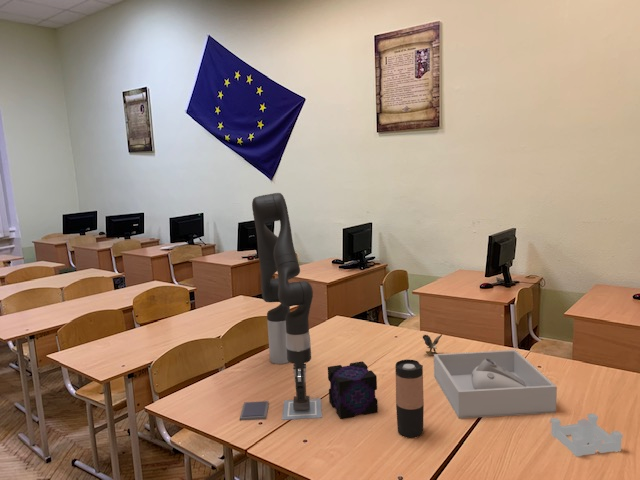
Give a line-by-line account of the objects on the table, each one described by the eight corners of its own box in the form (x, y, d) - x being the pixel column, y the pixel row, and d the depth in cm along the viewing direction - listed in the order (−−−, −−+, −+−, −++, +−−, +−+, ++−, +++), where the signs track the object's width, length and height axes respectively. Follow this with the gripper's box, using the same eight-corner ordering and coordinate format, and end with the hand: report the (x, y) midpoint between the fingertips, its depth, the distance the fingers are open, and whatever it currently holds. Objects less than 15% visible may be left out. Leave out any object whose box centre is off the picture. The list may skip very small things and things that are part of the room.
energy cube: (340, 419, 147) (339, 382, 145) (329, 401, 159) (327, 366, 157) (377, 412, 150) (376, 375, 149) (363, 395, 162) (362, 361, 160)
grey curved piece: (503, 409, 148) (503, 375, 146) (458, 389, 161) (458, 358, 160) (534, 392, 157) (535, 360, 155) (489, 375, 170) (489, 346, 169)
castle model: (593, 428, 137) (594, 403, 135) (634, 460, 122) (636, 432, 121) (543, 435, 135) (544, 409, 134) (579, 467, 120) (580, 439, 119)
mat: (284, 401, 160) (284, 400, 160) (320, 399, 160) (320, 398, 160) (282, 420, 148) (282, 418, 148) (321, 418, 148) (321, 416, 148)
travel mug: (393, 435, 137) (391, 367, 134) (401, 422, 144) (400, 357, 141) (419, 441, 134) (418, 372, 131) (427, 427, 140) (426, 361, 137)
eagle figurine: (430, 359, 189) (429, 336, 187) (418, 353, 195) (418, 331, 194) (445, 355, 192) (445, 333, 190) (434, 349, 198) (434, 328, 197)
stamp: (294, 402, 157) (292, 378, 155) (309, 401, 157) (308, 377, 155) (293, 409, 152) (292, 385, 150) (309, 409, 152) (308, 384, 150)
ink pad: (244, 405, 159) (243, 401, 159) (268, 403, 159) (268, 400, 159) (239, 421, 149) (239, 417, 149) (266, 419, 149) (265, 416, 149)
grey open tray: (434, 376, 173) (433, 354, 172) (515, 372, 174) (515, 349, 172) (458, 418, 145) (458, 392, 143) (556, 413, 145) (556, 386, 144)
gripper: (287, 338, 158) (290, 388, 161) (285, 354, 144) (288, 409, 147) (310, 336, 158) (313, 387, 161) (310, 353, 144) (313, 408, 147)
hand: (301, 397), depth 154 cm, fingers closed on stamp, 3 cm apart
